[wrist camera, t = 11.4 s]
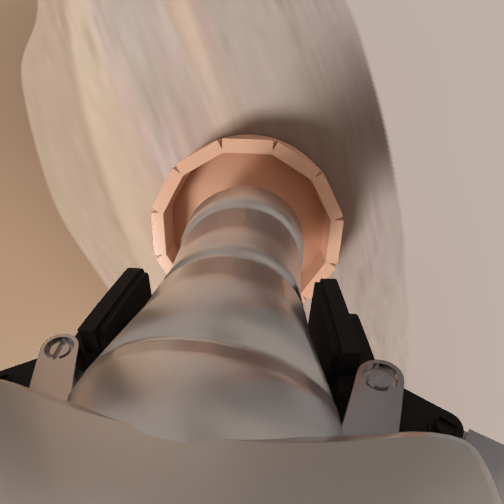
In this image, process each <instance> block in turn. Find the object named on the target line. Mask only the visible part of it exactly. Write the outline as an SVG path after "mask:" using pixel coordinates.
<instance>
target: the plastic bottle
mask: <svg viewBox="0 0 504 504" xmlns="http://www.w3.org/2000/svg"><path fill="white" fill-rule="evenodd" d="M303 256H304V233H303V229H302V226H301V223H300V220H299V219H298V217H297V215H296V213H295V212H294V210H293V209H292V208H291V207H290V206H289V205H288V204H287V203H286V202H285V201H284V200H283V199H282V198H281V197H279V196H278V195H276V194H275V193H274V192H271V191H269V190H267V189H265V188H261V187H257V186H248V185H241V186H236V187H230V188H228V189H225V190H222V191H220V192H217V193H215V194H213V195H212V196H210V197H209V198H207V199H206V200H204V201H203V202H202V203H201V204H200V205H199V206H198V207H197V208H196V209H195V211H194V212H193V214H192V215H191V217H190V218H189V220H188V223H187V226H186V228H185V231H184V233H183V236H182V239H181V244H180V250H179V252H178V254H177V256H176V259H175V261H174V263H173V265H172V268H171V270H170V272H169V273H168V274H167V276H166V277H165V279H164V280H163V282H162V283H161V284H160V285H159V286H158V288H157V289H156V291H155V292H154V293H153V295H152V296H151V297H150V299H149V300H148V302H147V303H146V304H145V306H144V307H143V308H142V309H141V310H140V312H139V313H138V314H137V315H136V316H135V317H134V318H133V319H132V320H131V321H130V322H129V323H128V324H127V326H126V327H125V328H124V329H123V330H122V331H121V332H120V333H119V334H118V335H117V336H116V338H115V339H114V340H113V341H112V342H111V343H110V344H109V345H108V346H107V347H106V349H105V350H104V351H103V352H102V353H101V354H100V355H99V356H98V357H97V359H96V360H95V361H94V362H93V363H92V364H91V365H90V366H89V367H88V368H87V370H86V371H85V372H84V374H83V375H82V377H81V378H80V380H79V381H78V382H77V384H76V385H75V387H74V388H73V389H72V391H71V392H70V393H69V395H68V398H67V400H66V401H69V402H72V403H75V404H78V405H81V406H84V407H86V408H88V409H90V410H92V411H95V412H97V413H100V414H102V415H105V416H107V417H110V418H112V419H115V420H119V421H122V422H125V423H129V424H132V425H133V426H134V427H135V428H136V429H137V430H139V431H140V432H142V433H144V434H146V435H149V436H154V437H158V438H163V439H167V440H172V441H177V442H182V443H197V442H208V441H211V440H214V439H229V440H256V439H281V438H293V437H322V436H344V435H343V431H342V428H341V421H340V417H339V414H338V410H337V407H336V405H335V403H334V400H333V397H332V394H331V391H330V388H329V386H328V383H327V380H326V377H325V375H324V372H323V369H322V367H321V364H320V361H319V359H318V356H317V353H316V351H315V348H314V345H313V343H312V340H311V337H310V333H309V328H308V324H307V319H306V315H305V312H304V308H303V302H302V298H301V268H302V264H303Z"/></svg>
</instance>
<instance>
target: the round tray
mask: <svg viewBox="0 0 504 504" xmlns="http://www.w3.org/2000/svg"><path fill="white" fill-rule="evenodd" d="M241 185H248V186H257V187H261V188H265V189H267V190H269V191H271V192H274V193H275V194H276V195H278V196H279V197H281V198H282V199H283V200H284V201H285V202H286V203H287V204H288V205H289V206H290V207H291V208H292V209H293V210H294V212H295V213H296V215H297V217H298V219H299V220H300V223H301V226H302V229H303V233H304V256H303V264H302V268H301V298H302V302H303V304H304V303H306V299H305V297H306V298H307V299H309V300H310V299H311V298H312V296H313V289H314V284H315V282H320V279H321V278H323V279H327V278H328V277H329V276H330V274H331V273H332V272H333V271H334V269H335V268H336V267H335V264H338V259H339V252H340V245H341V238H342V231H343V224H344V220H343V219H342V218H341V217H342V216H343V214H342V212H341V210H340V207H339V205H338V203H337V201H336V198H335V196H334V194H333V192H332V190H331V187H330V185H329V183H328V181H327V179H326V177H325V175H324V173H323V172H322V171H321V170H320V169H319V168H318V167H317V166H316V165H315V164H314V163H313V162H312V161H311V160H310V159H309V158H308V157H307V156H306V155H305V154H303V153H302V152H301V151H299V150H298V149H297V148H295V147H293V146H291V145H289V144H288V143H286V142H283V141H281V140H278V139H275V138H271V137H267V136H263V135H253V134H245V135H235V136H229V137H225V138H221V139H218V140H215V141H212V142H210V143H208V144H206V145H204V146H202V147H201V148H199V149H198V150H196V151H195V152H193V153H192V154H191V155H189V156H188V157H187V158H185V159H184V160H182V161H180V162H179V163H177V164H176V167H174V168H172V169H171V171H170V173H169V175H168V177H167V179H166V181H165V183H164V185H163V186H162V188H161V190H160V192H159V194H158V197H157V199H156V201H155V203H154V205H153V207H152V209H154V211H153V212H151V219H152V231H153V242H154V252H155V255H159V256H158V257H157V258H156V259H157V261H158V262H159V264H160V265H161V266H162V268H163V269H164V271H165V272H166V274H168V273H169V272H170V270H171V268H172V265H173V263H174V261H175V259H176V256H177V254H178V252H179V250H180V244H181V239H182V236H183V233H184V231H185V228H186V226H187V223H188V220H189V218H190V217H191V215H192V214H193V212H194V211H195V209H196V208H197V207H198V206H199V205H200V204H201V203H202V202H203V201H204V200H206V199H207V198H209V197H210V196H212V195H213V194H215V193H217V192H220V191H222V190H225V189H228V188H230V187H236V186H241ZM334 263H335V264H334Z"/></svg>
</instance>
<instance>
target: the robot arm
mask: <svg viewBox="0 0 504 504" xmlns="http://www.w3.org/2000/svg"><path fill="white" fill-rule="evenodd" d="M150 297H151V289H150V282H149V276H148V273H144V270H143V269H139V268H128V269H127V270H126V271H125V272H124V273H123V274H122V275H121V277H120V278H119V279H118V280H117V281H116V282H115V284H114V285H113V286H112V287H111V288H110V290H109V291H108V292H107V293H106V294H105V296H104V297H103V298H102V299H101V301H100V302H99V303H98V304H97V305H96V307H95V308H94V309H93V310H92V312H91V313H90V314H89V316H88V317H87V318H86V319H85V321H84V322H83V323H82V325H81V326H80V327H79V328H78V333H77V335H76V336H75V337H74V336H72V335H69V334H59V335H55V336H53V337H50V338H49V339H47V340H46V341H45V342H44V343H43V345H42V346H41V348H40V351H39V355H38V358H37V359H35V360H32V361H29V362H26V363H23V364H20V365H17V366H14V367H11V368H8V369H5V370H3V371H0V504H504V445H503V444H501V443H498V442H496V441H494V440H492V439H490V438H487V437H485V436H483V435H481V434H479V433H477V432H475V431H473V430H471V429H470V430H468V432H465V431H464V430H463V426H462V423H461V422H460V420H459V419H458V418H457V417H456V416H455V415H453V414H452V413H450V412H448V411H446V410H444V409H442V408H440V407H438V406H436V405H434V404H432V403H430V402H428V401H426V400H425V399H423V398H421V397H419V396H417V395H415V394H413V393H412V392H410V391H408V390H406V389H404V376H403V374H402V372H401V370H399V369H398V368H397V367H396V366H395V365H393V364H392V363H390V362H387V361H384V360H375V359H374V356H373V354H372V351H371V348H370V346H369V343H368V340H367V338H366V335H365V332H364V330H363V327H362V325H361V322H360V319H359V317H358V315H357V314H349V312H348V309H347V306H346V304H345V301H344V298H343V295H342V293H341V290H340V287H339V285H338V282H337V280H336V279H323V278H321V279H320V282H315V284H314V289H313V296H312V303H311V309H310V316H309V322H308V328H309V333H310V337H311V340H312V343H313V345H314V348H315V351H316V353H317V356H318V359H319V361H320V364H321V367H322V369H323V372H324V375H325V377H326V380H327V383H328V386H329V388H330V391H331V394H332V397H333V400H334V403H335V405H336V407H337V410H338V414H339V417H340V421H341V428H342V431H343V435H344V436H322V437H293V438H281V439H256V440H229V439H214V440H211V441H208V442H197V443H182V442H177V441H172V440H167V439H163V438H158V437H154V436H149V435H146V434H144V433H142V432H140V431H139V430H137V429H136V428H135V427H134V426H133V425H132V424H129V423H125V422H122V421H119V420H115V419H112V418H110V417H107V416H105V415H102V414H100V413H97V412H95V411H92V410H90V409H88V408H86V407H84V406H81V405H78V404H75V403H72V402H69V401H66V400H67V398H68V395H69V393H70V392H71V391H72V389H73V388H74V387H75V385H76V384H77V382H78V381H79V380H80V378H81V377H82V375H83V374H84V372H85V371H86V370H87V368H88V367H89V366H90V365H91V364H92V363H93V362H94V361H95V360H96V359H97V357H98V356H99V355H100V354H101V353H102V352H103V351H104V350H105V349H106V347H107V346H108V345H109V344H110V343H111V342H112V341H113V340H114V339H115V338H116V336H117V335H118V334H119V333H120V332H121V331H122V330H123V329H124V328H125V327H126V326H127V324H128V323H129V322H130V321H131V320H132V319H133V318H134V317H135V316H136V315H137V314H138V313H139V312H140V310H141V309H142V308H143V307H144V306H145V304H146V303H147V302H148V300H149V299H150Z"/></svg>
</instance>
